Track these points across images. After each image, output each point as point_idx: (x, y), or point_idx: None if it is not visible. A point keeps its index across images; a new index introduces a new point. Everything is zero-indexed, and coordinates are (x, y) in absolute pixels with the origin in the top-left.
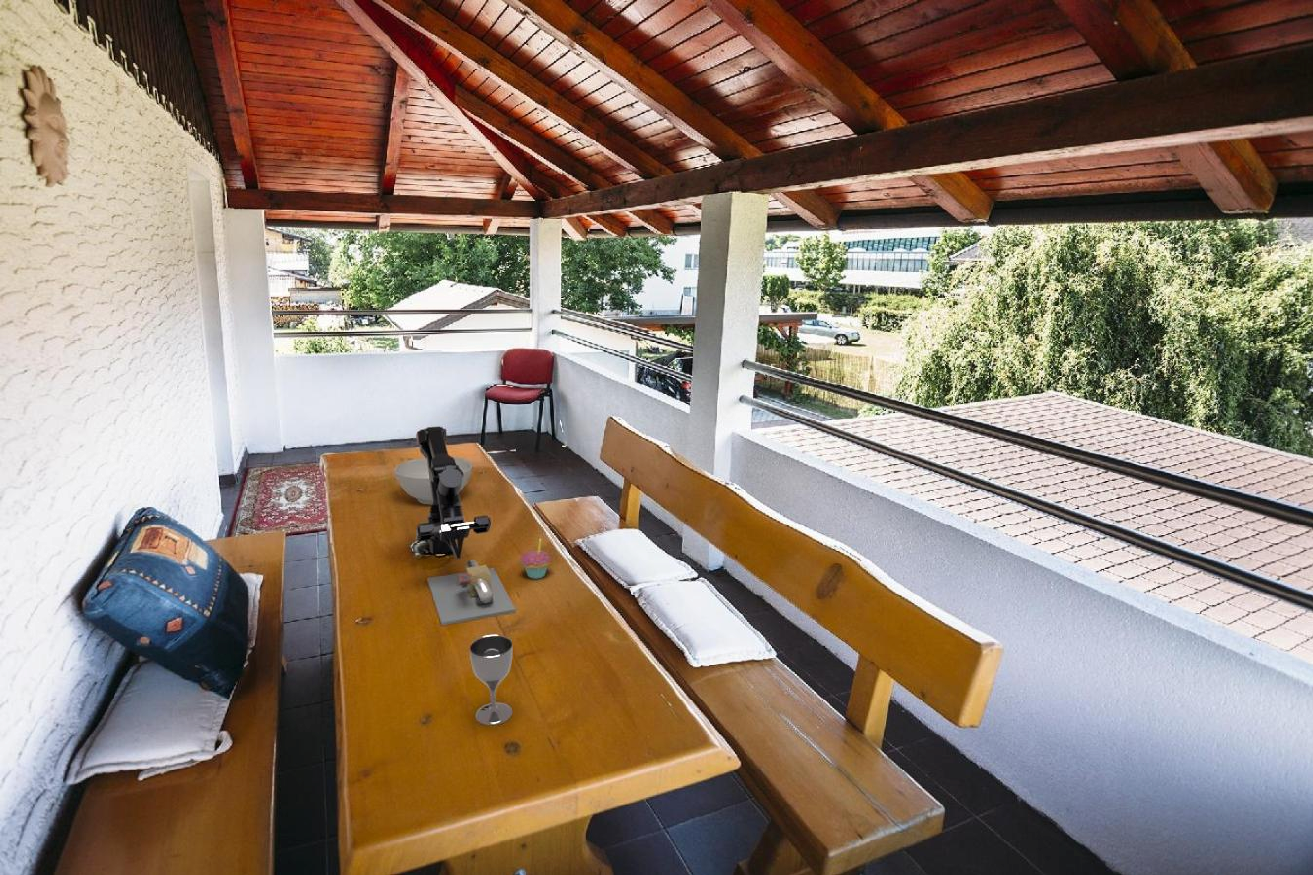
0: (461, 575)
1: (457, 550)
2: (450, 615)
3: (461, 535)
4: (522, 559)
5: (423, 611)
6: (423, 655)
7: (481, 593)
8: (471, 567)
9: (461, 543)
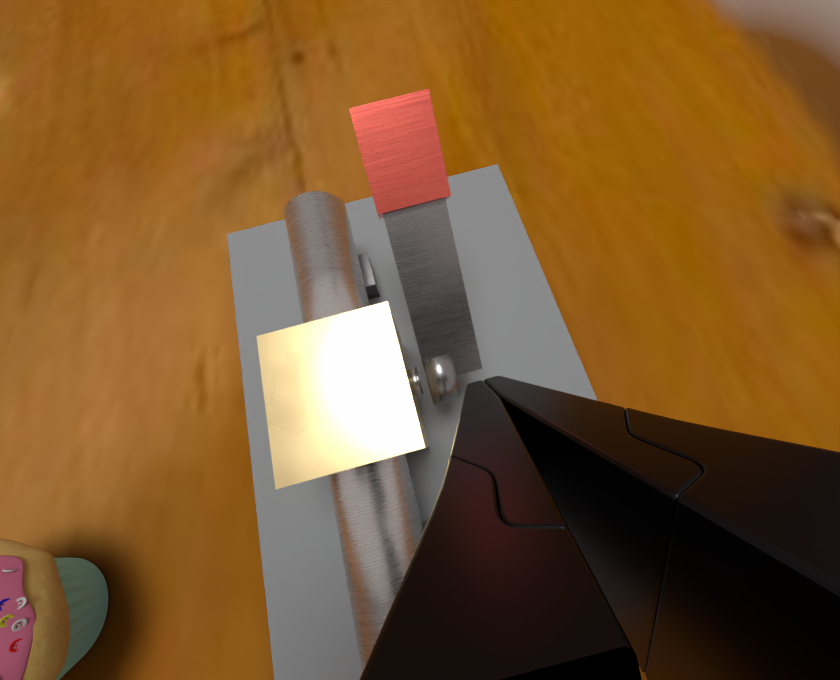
0: (420, 93)
1: (512, 399)
2: (473, 208)
3: (491, 569)
4: (4, 643)
5: (594, 276)
6: (517, 39)
7: (332, 196)
8: (386, 450)
9: (469, 455)
